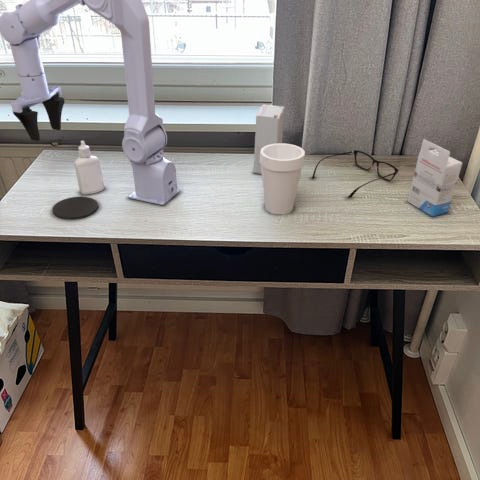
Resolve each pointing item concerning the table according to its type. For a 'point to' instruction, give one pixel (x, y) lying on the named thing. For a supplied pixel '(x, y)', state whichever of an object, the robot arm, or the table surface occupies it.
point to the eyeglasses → (364, 168)
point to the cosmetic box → (267, 130)
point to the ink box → (434, 179)
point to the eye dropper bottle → (88, 171)
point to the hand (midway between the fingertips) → (46, 134)
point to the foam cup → (281, 175)
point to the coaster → (75, 208)
